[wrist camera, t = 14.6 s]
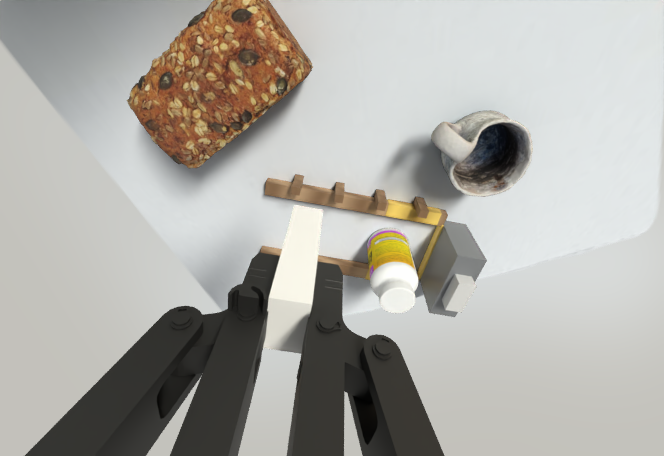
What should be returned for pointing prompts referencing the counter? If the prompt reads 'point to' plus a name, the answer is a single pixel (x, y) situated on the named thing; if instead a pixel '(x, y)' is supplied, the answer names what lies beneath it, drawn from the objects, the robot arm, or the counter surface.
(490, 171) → the mug
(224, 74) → the bread
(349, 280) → the counter surface
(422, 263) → the grey carton
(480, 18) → the counter surface
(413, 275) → the supplement bottle
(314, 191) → the wooden rack
